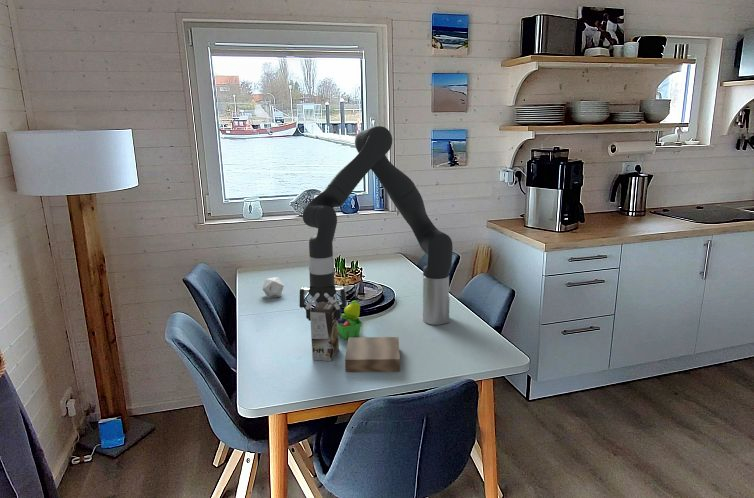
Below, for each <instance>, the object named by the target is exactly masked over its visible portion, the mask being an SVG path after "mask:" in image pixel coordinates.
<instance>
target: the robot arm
mask: <svg viewBox="0 0 754 498" xmlns="http://www.w3.org/2000/svg"><path fill="white" fill-rule="evenodd" d="M354 146H355V149H356V151H357V154H356V156H355V157H354V158H353V159H352V160H351V161H350V162H348V163H347V164H346V165H345V166H343V168H342V169H340V170H339V171H338V172H337V173H336V175H335V176H334V177H333V178H332V180H331V181H330V182H329V183H328V185H327V186H326V187H325V189H324V190H323V191H321V192H320V193H319V194H317V195H316V196H315V197H314V198H313V199H311V200H310V201H309V202H308V203H307V204H306V206H305V208H304V209H303V212H302V220H303V221H302V222H303V223H304V224H305V225H306V226H308V227H309V228H314V229H317V233H316V235H313V236H312V237H310V238H309V240H308V241H309V242H308V250H309V251H308V253H309V258H308V259H309V261H308V271H309V288H308V287H304V286H302V287H300V289H299V304H298V305H299V308H300V309H305V316H306V319H307V320H308V321H310V322H311V320H310V311H311V310H312V306H313V305H314V303H315V302H317V303H318V302H331V304H332V305H334V306H335V308H336V321H338V320H339V319H340V317H341V314H342V308H344V309H345V307H347V294H346V293H347V292H346V287H345V286H342V287H340V288H339V287H336V284H335V283H336V282H335V281H336V280H335V261H334V252H333V251H334V250H333V249H334V247H333V241H334V237H335V233H336V230H337V224H338V215H337V213H336V211H335V208H339V207H342V206H343V204H345V202H347V200H348V198H349V197H350V196H351V195H352V193H353V192H354V190H355V189H356V187H358V184H359V183H360V182H361V181H362V179H364V177H365V176H366V175H367V174H368V173H369V171H372V172H373V174H374V175H375V176H376V178H377V179H378V181H379V183H380V184H381V185H382V187H383V189H384V190H385V191H386V193H387V195H388V196H389V198H390V200H391V201H392V203H393V204H394V206H395V207H396V209H397V210H398V212H399V213H400V215H401V216H402V217H403V219H404V221H405V222H406V223H407V224H408V225H409V228H411V230H412V233H413V234H414V237H415V238H416V241H417V242H418V245H419V246H420V248H421V250H422V251H423V252H424V253H425V254H427V265H424V266H423V269H422V321H423V322H424V323H426V324H429V325H435V326H436V325H437V326H438V325H444V324H449V323H450V303H451V302H450V270H452V269H451V268H452V265H453V251H454V250H453V241H452V238H451V236H449V235H448V234H446V233H445V232H443V231H440V230H439V229H438V228H437V227H436V226H435V224H433V222H432V220H431V219H430V217H429V216H428V213H427V211H426V206H425V204H424V200H423V197H422V195H421V193H420V191H419V189H418V187H417V186H416V184H415V183H414V182H413V180H412V179H411V178H410V177H409V176H408V175H407V174H406V173H404V172H403V171H401V170H400V169H399V168H397V166H395V165H394V164H393V163H392V162H391V161H390V160H389V158H388V157H387V156H386V154H388V153H389V151H390V150H391V148H392V146H393V137H392V133H391V131H390V130H389V129H388V128H387V127H385V126H381V125H379V126H371V127H369V128H366V129H364V130H361V131H359V132H357V134H356V135H355V139H354ZM308 293H309V294H310V296H311V298H310V300H309V301H308V302H305V301H306V299H305V297H306V295H307V294H308ZM336 293H338V295H339V296H340V299H341V300H340V301H341V302H339V300H338V299H337V297H336Z"/></svg>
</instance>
